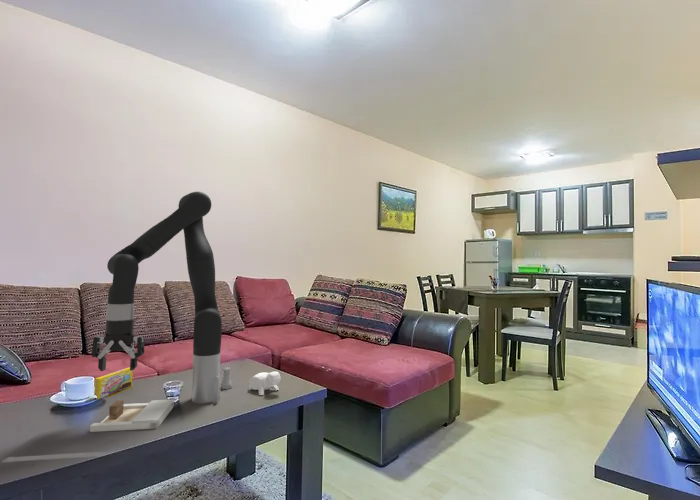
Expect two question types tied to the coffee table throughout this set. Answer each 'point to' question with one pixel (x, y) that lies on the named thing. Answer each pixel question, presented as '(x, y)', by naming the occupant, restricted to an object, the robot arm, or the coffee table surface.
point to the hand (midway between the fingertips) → (117, 370)
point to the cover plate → (126, 415)
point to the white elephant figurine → (265, 381)
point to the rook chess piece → (226, 379)
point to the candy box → (113, 383)
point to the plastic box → (139, 417)
